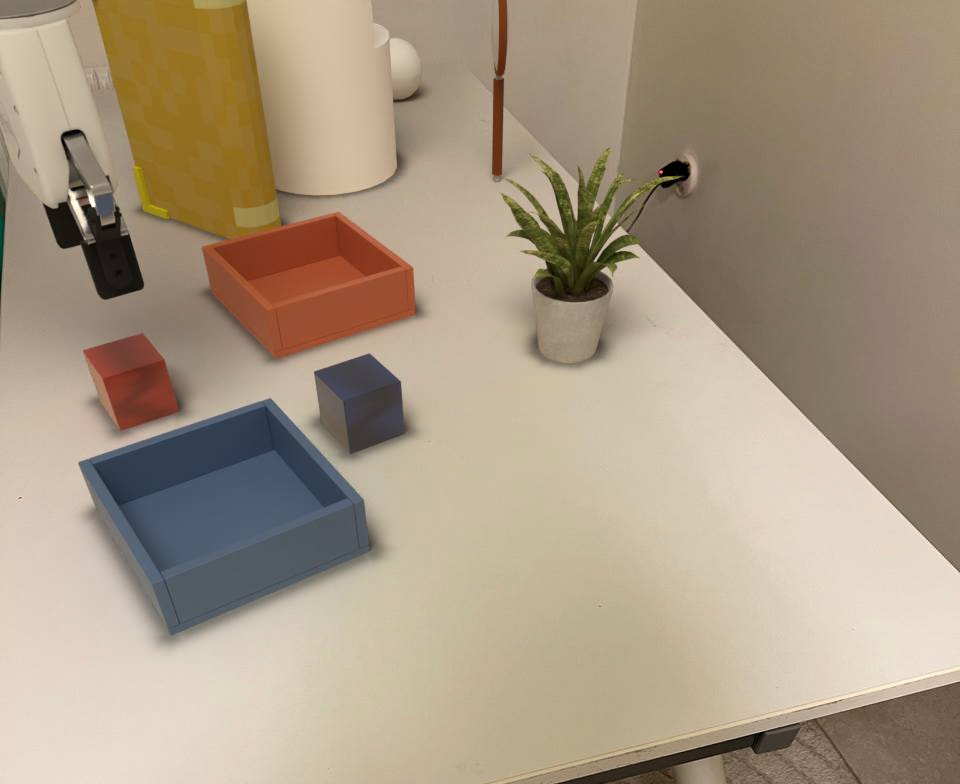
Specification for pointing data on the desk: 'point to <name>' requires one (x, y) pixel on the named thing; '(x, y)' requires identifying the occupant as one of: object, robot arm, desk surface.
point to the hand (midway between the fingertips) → (100, 267)
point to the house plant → (575, 261)
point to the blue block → (360, 402)
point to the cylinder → (325, 94)
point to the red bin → (309, 282)
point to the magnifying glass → (498, 79)
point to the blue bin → (225, 512)
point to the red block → (131, 381)
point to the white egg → (404, 68)
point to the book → (192, 111)
